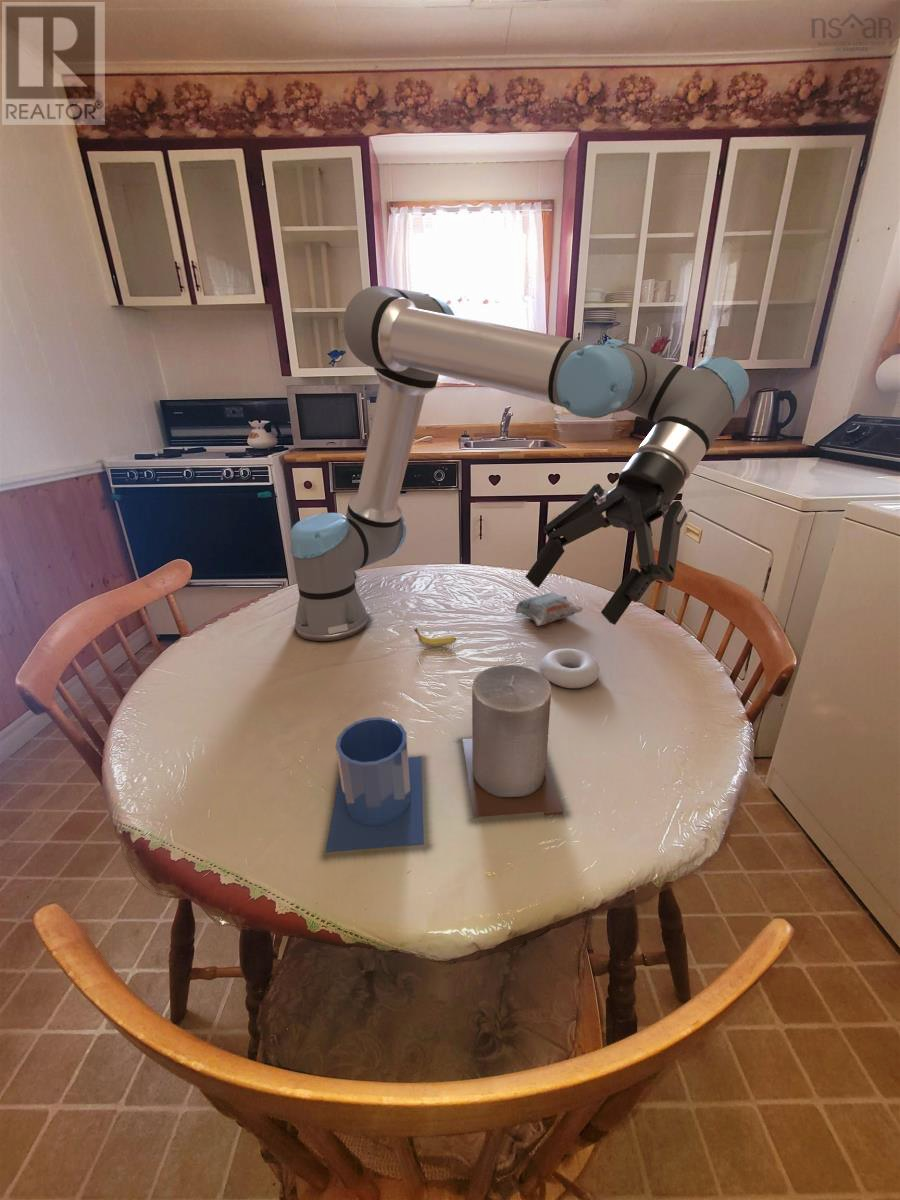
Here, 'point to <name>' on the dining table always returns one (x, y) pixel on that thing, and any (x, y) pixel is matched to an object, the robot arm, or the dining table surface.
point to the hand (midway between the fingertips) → (566, 599)
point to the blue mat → (393, 834)
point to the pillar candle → (510, 730)
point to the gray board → (493, 805)
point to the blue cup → (374, 770)
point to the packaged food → (547, 608)
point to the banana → (435, 640)
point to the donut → (574, 677)
